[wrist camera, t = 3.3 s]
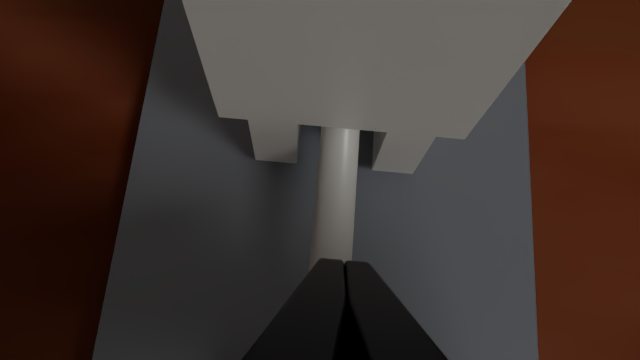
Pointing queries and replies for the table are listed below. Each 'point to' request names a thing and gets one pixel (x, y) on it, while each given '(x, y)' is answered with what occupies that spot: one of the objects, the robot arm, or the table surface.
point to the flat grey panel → (312, 225)
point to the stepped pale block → (363, 67)
